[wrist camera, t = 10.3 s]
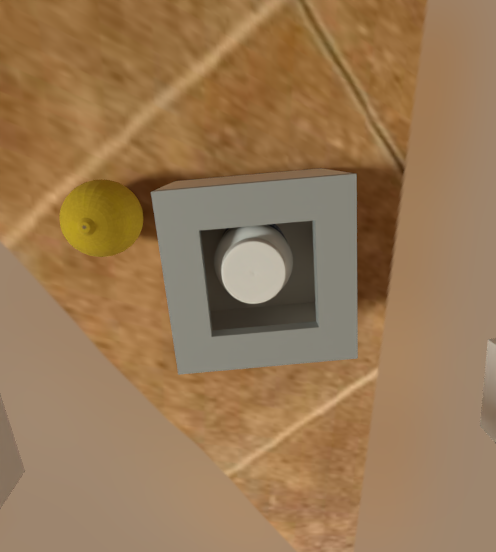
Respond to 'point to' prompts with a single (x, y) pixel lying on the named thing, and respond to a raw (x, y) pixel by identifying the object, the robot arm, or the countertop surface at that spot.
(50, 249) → the countertop surface
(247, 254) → the pill bottle
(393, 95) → the countertop surface
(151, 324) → the countertop surface
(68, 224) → the lemon
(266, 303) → the drop box
